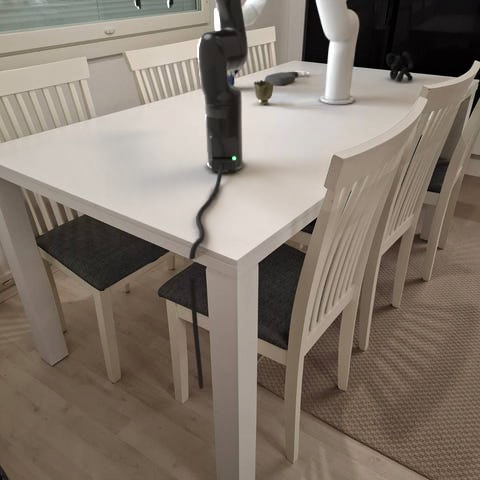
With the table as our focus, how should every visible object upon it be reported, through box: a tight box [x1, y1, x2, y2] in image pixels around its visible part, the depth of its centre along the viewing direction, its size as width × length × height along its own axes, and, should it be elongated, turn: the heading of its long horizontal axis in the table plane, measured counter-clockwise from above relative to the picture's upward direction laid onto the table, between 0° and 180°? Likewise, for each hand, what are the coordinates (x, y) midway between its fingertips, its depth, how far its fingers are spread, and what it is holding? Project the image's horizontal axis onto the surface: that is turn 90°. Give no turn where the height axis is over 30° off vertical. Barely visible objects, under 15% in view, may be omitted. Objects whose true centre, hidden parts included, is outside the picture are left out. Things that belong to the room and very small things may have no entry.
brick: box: [227, 74, 232, 85], centre depth 191 cm, size 5×4×4 cm
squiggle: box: [385, 51, 414, 83], centre depth 198 cm, size 11×10×15 cm
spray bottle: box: [264, 70, 310, 86], centre depth 204 cm, size 3×11×25 cm
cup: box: [253, 79, 275, 106], centre depth 169 cm, size 8×7×8 cm
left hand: (154, 8), depth 126 cm, fingers open, 8 cm apart
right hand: (226, 86), depth 191 cm, fingers closed on brick, 4 cm apart
